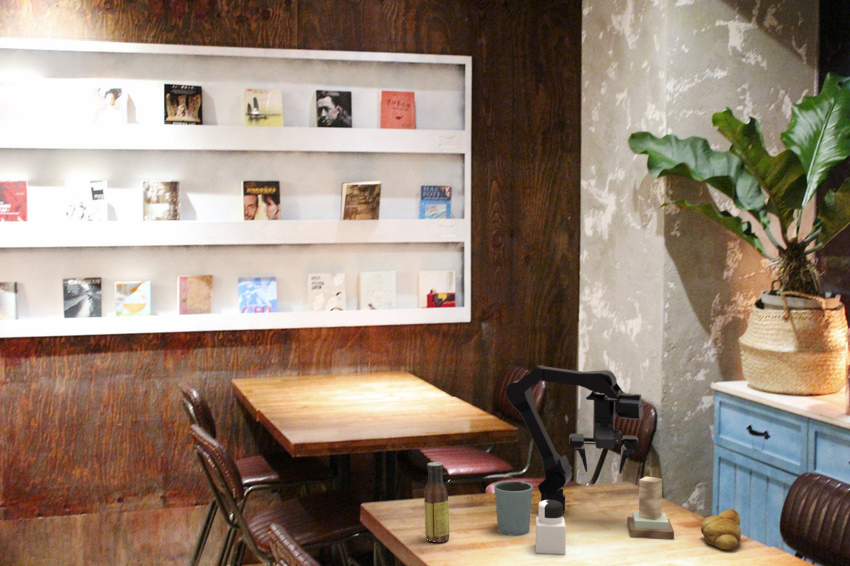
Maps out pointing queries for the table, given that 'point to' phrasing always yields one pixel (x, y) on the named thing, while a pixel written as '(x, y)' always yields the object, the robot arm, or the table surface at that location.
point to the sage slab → (650, 522)
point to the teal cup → (513, 506)
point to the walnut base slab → (649, 531)
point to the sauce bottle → (436, 505)
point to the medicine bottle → (550, 528)
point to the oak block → (650, 498)
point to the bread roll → (722, 529)
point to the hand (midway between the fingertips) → (603, 472)
